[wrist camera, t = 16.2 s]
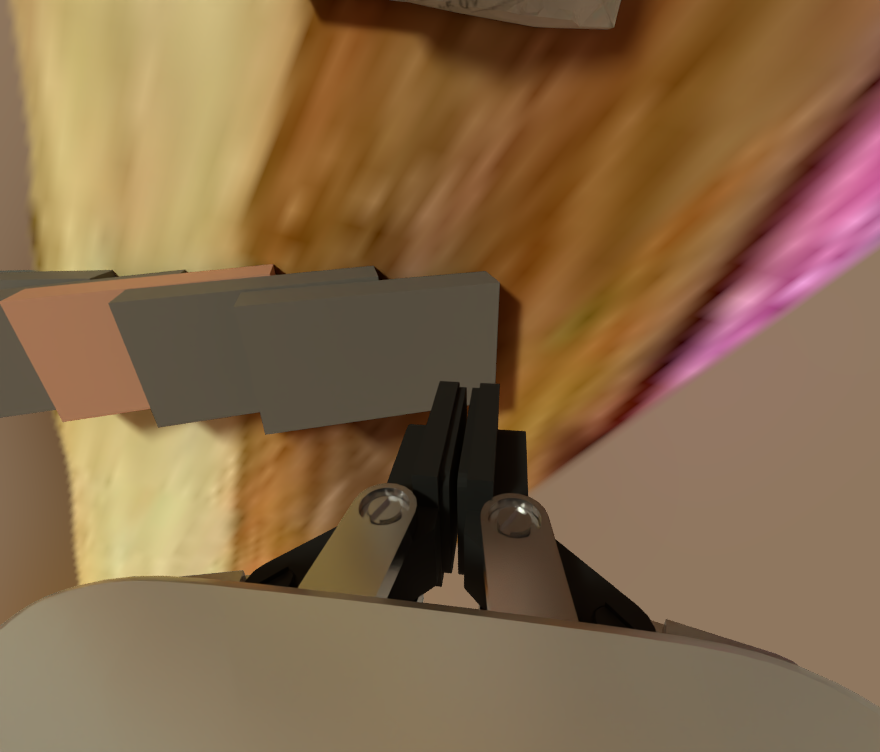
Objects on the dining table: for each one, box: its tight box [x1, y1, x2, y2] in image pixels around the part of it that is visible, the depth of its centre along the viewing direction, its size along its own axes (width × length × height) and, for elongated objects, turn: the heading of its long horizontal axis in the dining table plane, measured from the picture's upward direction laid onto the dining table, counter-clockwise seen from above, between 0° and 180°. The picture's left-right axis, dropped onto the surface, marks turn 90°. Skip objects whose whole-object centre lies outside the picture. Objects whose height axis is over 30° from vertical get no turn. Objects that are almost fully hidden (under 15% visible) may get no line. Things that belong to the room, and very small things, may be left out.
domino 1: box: [234, 271, 500, 435], centre depth 17 cm, size 2×5×9 cm
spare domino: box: [0, 264, 276, 422], centre depth 18 cm, size 2×5×9 cm
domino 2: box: [108, 266, 378, 427], centre depth 18 cm, size 2×5×9 cm
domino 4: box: [0, 270, 186, 418], centre depth 19 cm, size 2×5×9 cm
